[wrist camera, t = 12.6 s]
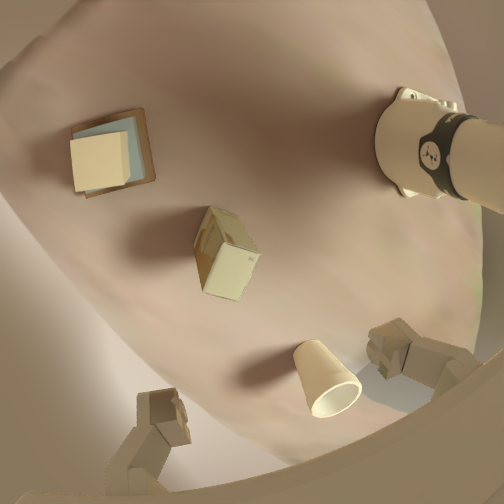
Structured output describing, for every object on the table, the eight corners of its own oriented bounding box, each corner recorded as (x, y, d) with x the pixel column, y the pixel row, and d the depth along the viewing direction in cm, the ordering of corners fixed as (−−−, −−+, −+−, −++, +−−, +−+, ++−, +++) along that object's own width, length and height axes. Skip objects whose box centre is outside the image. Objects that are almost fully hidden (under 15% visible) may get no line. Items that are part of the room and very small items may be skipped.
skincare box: (208, 204, 40) (224, 238, 29) (238, 215, 41) (264, 251, 31) (191, 247, 42) (200, 294, 31) (220, 256, 43) (238, 304, 32)
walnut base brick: (144, 109, 33) (141, 107, 30) (156, 176, 37) (155, 180, 34) (77, 127, 31) (70, 128, 29) (91, 193, 35) (86, 198, 33)
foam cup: (337, 336, 57) (371, 381, 45) (315, 370, 59) (343, 415, 48) (298, 330, 53) (330, 381, 42) (277, 367, 56) (301, 418, 44)
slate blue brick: (135, 117, 31) (132, 116, 28) (145, 174, 34) (143, 178, 31) (80, 133, 29) (72, 134, 27) (91, 188, 32) (85, 194, 30)
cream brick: (127, 130, 28) (119, 132, 24) (130, 176, 30) (124, 185, 26) (83, 137, 27) (69, 140, 23) (88, 182, 29) (75, 192, 25)
